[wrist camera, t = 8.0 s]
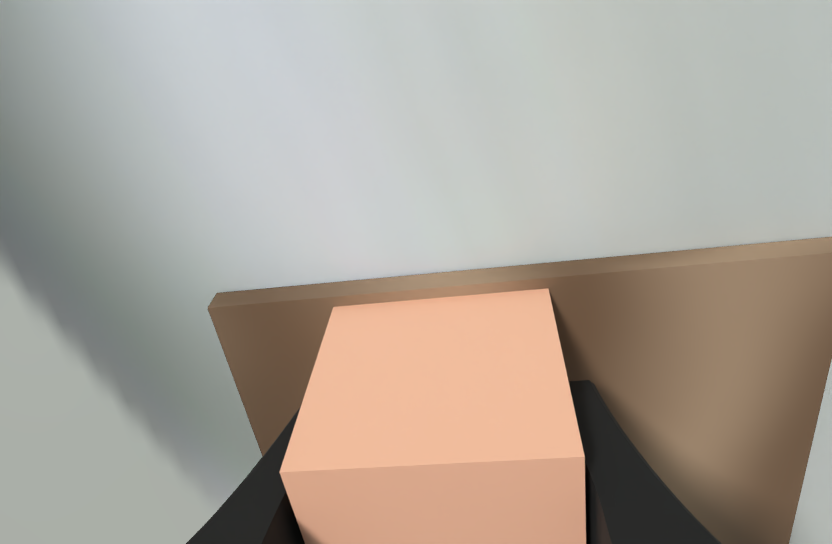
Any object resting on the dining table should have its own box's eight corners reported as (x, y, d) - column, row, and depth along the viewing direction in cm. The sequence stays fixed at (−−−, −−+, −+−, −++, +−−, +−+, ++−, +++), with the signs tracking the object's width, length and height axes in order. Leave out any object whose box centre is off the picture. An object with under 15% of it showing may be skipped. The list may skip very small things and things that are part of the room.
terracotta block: (548, 288, 13) (585, 456, 9) (556, 448, 15) (587, 638, 11) (333, 306, 13) (279, 472, 9) (371, 457, 16) (340, 641, 12)
